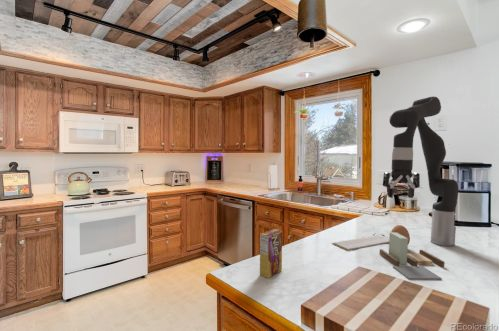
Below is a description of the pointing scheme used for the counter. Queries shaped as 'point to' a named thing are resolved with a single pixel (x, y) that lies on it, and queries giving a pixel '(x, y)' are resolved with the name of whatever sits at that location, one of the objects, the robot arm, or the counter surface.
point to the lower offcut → (425, 264)
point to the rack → (411, 260)
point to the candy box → (270, 253)
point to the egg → (401, 231)
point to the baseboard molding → (362, 242)
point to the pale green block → (398, 247)
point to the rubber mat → (417, 273)
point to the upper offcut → (420, 258)
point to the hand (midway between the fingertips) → (400, 197)
